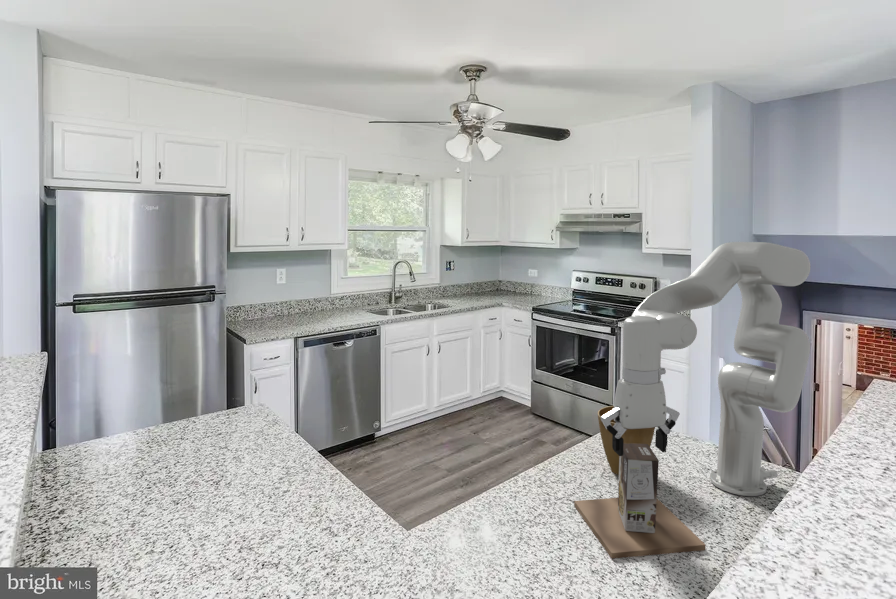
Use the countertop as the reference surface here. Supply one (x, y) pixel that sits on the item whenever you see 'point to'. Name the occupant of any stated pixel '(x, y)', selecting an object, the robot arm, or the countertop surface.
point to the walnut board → (631, 544)
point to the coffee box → (638, 487)
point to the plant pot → (628, 437)
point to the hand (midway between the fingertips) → (639, 451)
